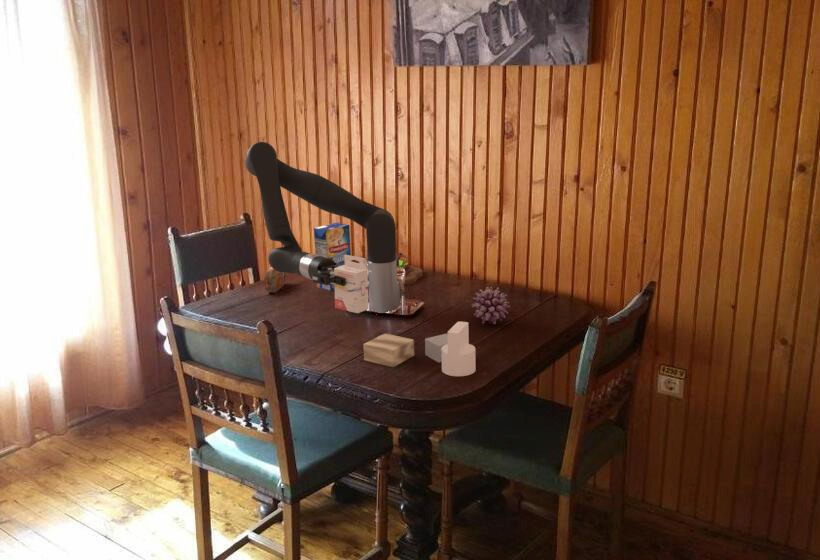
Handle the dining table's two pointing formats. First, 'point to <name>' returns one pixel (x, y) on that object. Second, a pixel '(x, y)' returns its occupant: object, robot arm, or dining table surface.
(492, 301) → the purple spiky ball
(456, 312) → the dining table surface
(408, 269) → the plant
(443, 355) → the base with upright slab
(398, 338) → the beech block
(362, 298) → the ink cartridge box
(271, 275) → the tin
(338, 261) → the beverage box
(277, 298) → the dining table surface
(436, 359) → the slate block
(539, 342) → the dining table surface
